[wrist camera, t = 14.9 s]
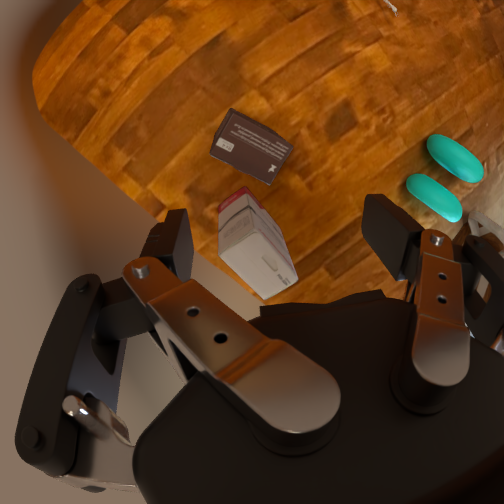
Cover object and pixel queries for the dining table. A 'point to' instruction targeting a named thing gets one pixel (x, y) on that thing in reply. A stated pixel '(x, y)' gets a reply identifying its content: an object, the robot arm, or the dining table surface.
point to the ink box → (254, 245)
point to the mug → (490, 232)
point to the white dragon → (391, 6)
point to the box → (250, 146)
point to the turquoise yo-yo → (456, 163)
